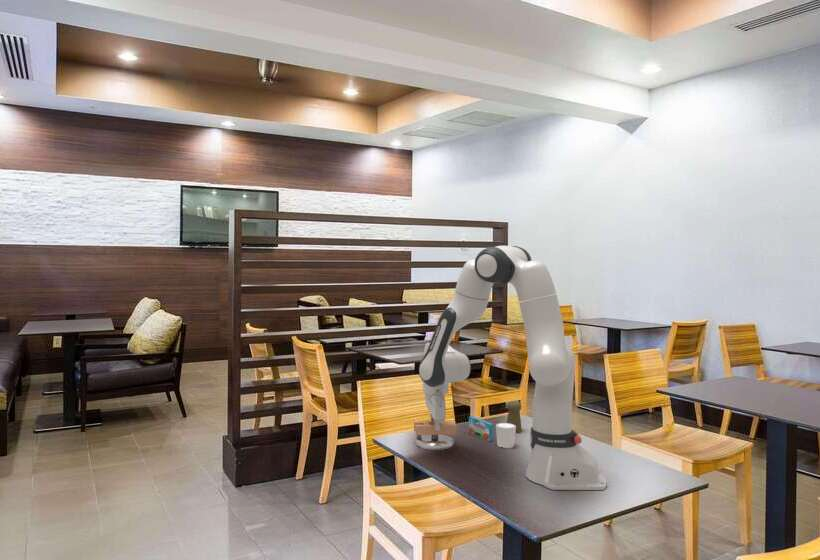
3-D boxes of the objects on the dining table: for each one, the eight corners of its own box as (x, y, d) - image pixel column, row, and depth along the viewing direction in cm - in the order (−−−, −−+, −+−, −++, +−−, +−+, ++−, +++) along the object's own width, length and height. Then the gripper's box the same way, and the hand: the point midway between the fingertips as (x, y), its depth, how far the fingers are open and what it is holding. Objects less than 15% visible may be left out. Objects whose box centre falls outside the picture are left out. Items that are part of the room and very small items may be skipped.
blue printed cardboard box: (492, 441, 197) (492, 423, 197) (489, 441, 196) (489, 424, 196) (471, 432, 207) (471, 415, 207) (468, 432, 206) (468, 416, 206)
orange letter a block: (453, 429, 196) (453, 420, 196) (456, 434, 190) (457, 425, 190) (413, 429, 194) (413, 421, 194) (416, 435, 188) (416, 426, 188)
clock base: (455, 439, 197) (455, 424, 197) (451, 451, 185) (452, 435, 185) (418, 437, 200) (419, 422, 200) (412, 449, 187) (413, 432, 187)
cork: (523, 433, 206) (523, 403, 206) (506, 433, 206) (507, 403, 206) (520, 428, 212) (520, 399, 212) (504, 428, 212) (504, 399, 212)
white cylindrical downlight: (511, 450, 187) (511, 429, 187) (492, 446, 191) (492, 426, 191) (518, 444, 193) (519, 424, 193) (500, 441, 197) (500, 421, 197)
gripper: (450, 393, 182) (449, 436, 182) (439, 380, 202) (439, 418, 202) (431, 394, 181) (430, 436, 181) (422, 381, 201) (422, 419, 202)
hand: (435, 427), depth 192 cm, fingers closed on orange letter a block, 6 cm apart
